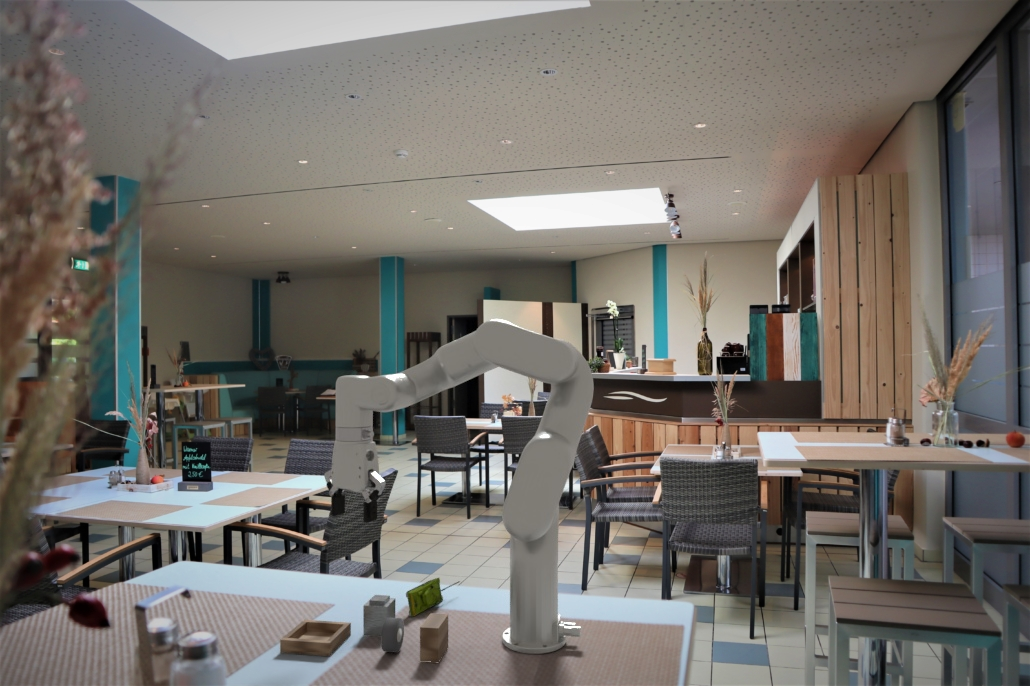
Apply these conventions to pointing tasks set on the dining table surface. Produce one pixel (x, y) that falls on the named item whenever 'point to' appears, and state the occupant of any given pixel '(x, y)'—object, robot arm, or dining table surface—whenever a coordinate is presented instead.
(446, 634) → the block
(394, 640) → the wheel
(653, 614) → the dining table surface
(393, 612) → the block
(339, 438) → the robot arm
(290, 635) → the tray
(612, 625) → the dining table surface
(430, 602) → the toy tank
